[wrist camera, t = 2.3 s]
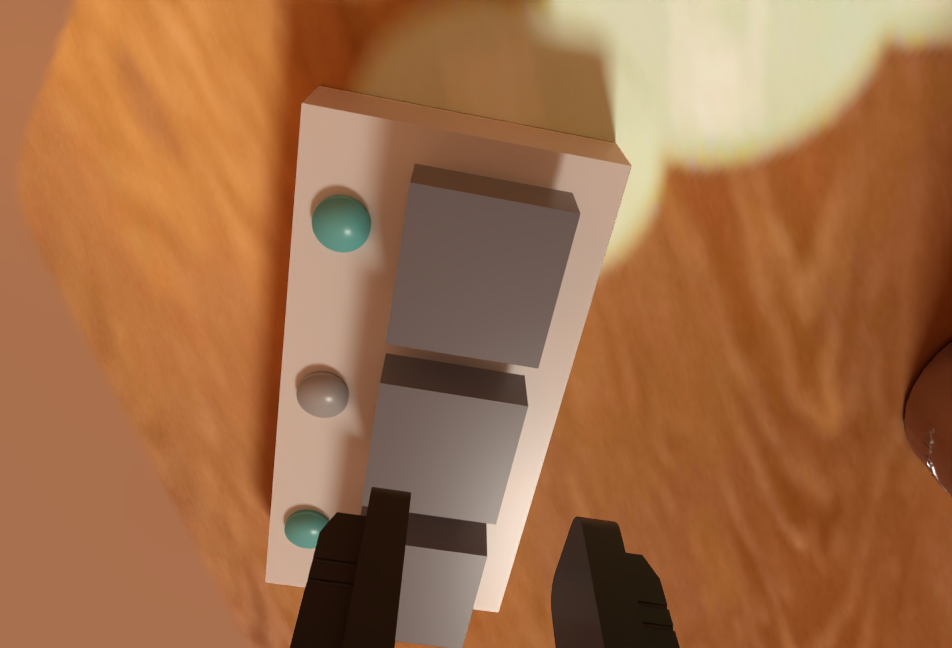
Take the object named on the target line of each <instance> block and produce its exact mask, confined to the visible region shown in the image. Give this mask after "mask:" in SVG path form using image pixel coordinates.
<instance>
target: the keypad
mask: <svg viewBox="0 0 952 648" xmlns="http://www.w3.org/2000/svg"><path fill="white" fill-rule="evenodd" d="M415 164H421V165H426V166H431V167H437V168H442V169H448V170H453V171H458V172H464V173H469V174H474V175H480V176H485V177H490V178H496V179H501V180H507V181H512V182H517V183H523V184H528V185H533V186H539V187H544V188H550V189H555V190H560V191H566V192H571V193H573V195H574V198H575V201H576V203H577V206H578V208H579V211H580V217H579V221H578V225H577V228H576V232H575V236H574V239H573V243H572V247H571V250H570V254H569V258H568V261H567V265H566V269H565V272H564V276H563V280H562V283H561V287H560V291H559V294H558V298H557V302H556V305H555V309H554V313H553V316H552V320H551V324H550V327H549V331H548V335H547V338H546V342H545V346H544V349H543V353H542V357H541V360H540V364H539V368H532V367H525V366H519V365H513V364H507V363H501V362H495V361H488V360H482V359H476V358H470V357H464V356H458V355H451V354H445V353H439V352H433V351H427V350H421V349H414V348H408V347H402V346H396V345H390V344H385V343H386V337H387V330H388V324H389V317H390V311H391V304H392V298H393V291H394V285H395V278H396V271H397V265H398V258H399V252H400V245H401V239H402V232H403V226H404V219H405V212H406V206H407V199H408V193H409V186H410V181H411V177H412V173H413V169H414V165H415ZM630 170H631V164H630V163H629V161H628V160H627V159H626V157H625V156H624V154H623V153H622V151H621V150H620V148H619V147H618V145H617V144H616V143H613V142H608V141H603V140H597V139H592V138H587V137H582V136H577V135H572V134H566V133H561V132H556V131H551V130H546V129H541V128H535V127H530V126H525V125H520V124H515V123H510V122H505V121H499V120H494V119H489V118H484V117H479V116H474V115H468V114H463V113H458V112H453V111H448V110H443V109H437V108H432V107H427V106H422V105H417V104H412V103H407V102H401V101H396V100H391V99H386V98H381V97H376V96H370V95H365V94H360V93H355V92H350V91H345V90H339V89H334V88H329V87H324V86H318V87H317V88H316V89H315V90H314V91H313V92H312V93H311V94H310V95H309V96H308V97H307V98H306V99H305V100H304V101H303V102H302V104H301V117H300V130H299V144H298V157H297V170H296V183H295V197H294V210H293V223H292V236H291V249H290V263H289V276H288V289H287V302H286V315H285V329H284V342H283V355H282V368H281V381H280V395H279V408H278V421H277V434H276V448H275V461H274V474H273V487H272V500H271V514H270V527H269V540H268V553H267V566H266V580H265V582H267V583H275V584H283V585H290V586H298V587H306V583H307V580H308V575H309V571H310V567H311V563H312V561H313V555H314V552H315V548H316V544H317V540H318V536H319V532H320V531H321V530H322V529H323V527H324V526H325V525H326V524H327V523H328V522H329V521H330V519H331V518H332V517H333V516H334V515H335V514H336V513H337V512H340V513H347V514H354V515H361V510H362V506H361V503H362V496H363V490H364V483H365V477H366V470H367V463H368V457H369V450H370V444H371V437H372V431H373V424H374V418H375V411H376V405H377V398H378V392H379V385H380V380H381V375H382V370H383V365H384V360H385V355H386V353H388V354H395V355H401V356H407V357H413V358H419V359H426V360H432V361H438V362H444V363H450V364H457V365H463V366H469V367H475V368H481V369H488V370H494V371H500V372H506V373H513V374H519V375H525V383H526V391H527V400H528V409H527V413H526V417H525V420H524V424H523V427H522V431H521V435H520V438H519V442H518V446H517V449H516V453H515V457H514V460H513V464H512V468H511V471H510V475H509V479H508V482H507V486H506V490H505V493H504V497H503V501H502V504H501V508H500V512H499V515H498V519H497V523H496V525H495V524H488V523H486V525H487V559H486V563H485V566H484V570H483V574H482V577H481V581H480V585H479V588H478V592H477V596H476V599H475V603H474V607H473V609H476V610H483V611H491V612H499V609H500V606H501V602H502V599H503V596H504V592H505V589H506V585H507V582H508V579H509V575H510V572H511V569H512V565H513V562H514V559H515V555H516V552H517V549H518V545H519V542H520V539H521V535H522V532H523V528H524V525H525V522H526V518H527V515H528V512H529V508H530V505H531V502H532V498H533V495H534V492H535V488H536V485H537V482H538V478H539V475H540V471H541V468H542V465H543V461H544V458H545V455H546V451H547V448H548V445H549V441H550V438H551V435H552V431H553V428H554V425H555V421H556V418H557V414H558V411H559V408H560V404H561V401H562V398H563V394H564V391H565V388H566V384H567V381H568V378H569V374H570V371H571V368H572V364H573V361H574V357H575V354H576V351H577V347H578V344H579V341H580V337H581V334H582V331H583V327H584V324H585V321H586V317H587V314H588V311H589V307H590V304H591V300H592V297H593V294H594V290H595V287H596V284H597V280H598V277H599V274H600V270H601V267H602V264H603V260H604V257H605V254H606V250H607V247H608V243H609V240H610V237H611V233H612V230H613V227H614V223H615V220H616V217H617V213H618V210H619V207H620V203H621V200H622V197H623V193H624V190H625V186H626V183H627V180H628V176H629V173H630Z"/></svg>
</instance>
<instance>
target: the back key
mask: <svg viewBox="0 0 952 648" xmlns="http://www.w3.org/2000/svg"><path fill="white" fill-rule="evenodd" d="M367 509H368V507H367V506H362V510H361V515H362V516H366V515H367ZM486 559H487V525H486V523H481V522H474V521H467V520H460V519H453V518H445V517H438V516H431V515H424V514H417V513H410V512H409V518H408V528H407V537H406V546H405V555H404V564H403V573H402V582H401V591H400V601H399V610H398V619H397V628H396V637H395V641H398V642H407V643H415V644H423V645H431V646H439V647H447V648H462V647H463V643H464V640H465V636H466V632H467V629H468V625H469V621H470V618H471V614H472V610H473V607H474V603H475V599H476V596H477V592H478V588H479V585H480V581H481V577H482V574H483V570H484V566H485V563H486Z"/></svg>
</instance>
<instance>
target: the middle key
mask: <svg viewBox="0 0 952 648" xmlns="http://www.w3.org/2000/svg"><path fill="white" fill-rule="evenodd" d="M527 409H528V400H527V391H526V383H525V375H519V374H513V373H506V372H500V371H494V370H488V369H481V368H475V367H469V366H463V365H457V364H450V363H444V362H438V361H432V360H426V359H419V358H413V357H407V356H401V355H395V354H388V353H386V355H385V360H384V365H383V370H382V375H381V380H380V385H379V392H378V398H377V405H376V411H375V418H374V424H373V431H372V437H371V444H370V450H369V457H368V463H367V470H366V477H365V483H364V490H363V496H362V503H361V506H367V507H368V504H369V498H370V493H371V488H372V487H378V488H385V489H392V490H399V491H406V492H411V500H410V509H409V512H410V513H417V514H424V515H431V516H438V517H445V518H453V519H460V520H467V521H474V522H481V523H488V524H495V525H496V523H497V519H498V515H499V512H500V508H501V504H502V501H503V497H504V493H505V490H506V486H507V482H508V479H509V475H510V471H511V468H512V464H513V460H514V457H515V453H516V449H517V446H518V442H519V438H520V435H521V431H522V427H523V424H524V420H525V417H526V413H527Z"/></svg>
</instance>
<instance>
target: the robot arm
mask: <svg viewBox="0 0 952 648" xmlns="http://www.w3.org/2000/svg"><path fill="white" fill-rule="evenodd" d="M904 424H905V430H906V436H907V440H908V441H909V443H910V445H911V447H912V449H913V451H914V453H915V454H916V455H917V456H918V457H919V459H920V460H921V461H922V462H923V463H924V464H925V466H926V467H927V468H928V469H929V470H930V472H931V473H932V476H933V477H934V478H935V479H936V480H937V482H938V483H939V484H940V485H941V486H942V487H943V489H944V490H945V491H947V492H948V493H949V494H950V495H951V496H952V342H951V343H949V344H948V345H947V346H946V347H945V348H943V349H942V350H941V351H940V352H939V353H938V354H937V355H936V356H935V357H934V358H933V359H932V361H931V362H930V363H929V364H928V365H927V366H926V367H925V368H924V370H923V371H922V373H921V375H920V376H919V378H918V379H917V381H916V383H915V384H914V386H913V388H912V390H911V393H910V396H909V399H908V401H907V404H906V411H905V420H904ZM410 500H411V492H406V491H399V490H392V489H385V488H378V487H372V488H371V493H370V498H369V504H368V509H367V515H366V516H362V515H354V514H347V513H340V512H337V513H336V514H335V515H334V516H333V517H332V518H331V519H330V521H329V522H328V523H327V524H326V525H325V526H324V527H323V529H322V530H321V531H320V532H319V536H318V540H317V544H316V548H315V552H314V555H313V561H312V563H311V567H310V571H309V575H308V580H307V583H306V587H305V591H304V595H303V599H302V602H301V606H300V610H299V614H298V618H297V622H296V626H295V630H294V634H293V638H292V642H291V645H290V648H394V646H395V637H396V628H397V619H398V610H399V601H400V591H401V582H402V573H403V564H404V555H405V546H406V537H407V528H408V518H409V509H410ZM551 611H552V620H553V628H554V637H555V646H556V648H680V647H679V644H678V640H677V637H676V633H675V631H673V623H672V620H671V616H670V613H669V610H667V602H666V599H665V595H664V592H663V589H662V585H661V582H660V579H659V577H658V576H657V575H656V573H655V572H654V570H653V569H652V568H651V566H650V565H649V564H648V562H647V561H646V560H645V558H644V557H643V555H638V554H631V553H626V552H625V548H624V544H623V540H622V536H621V532H620V528H619V526H618V524H617V523H616V522H612V521H605V520H598V519H591V518H584V517H575V518H574V520H573V522H572V524H571V527H570V530H569V533H568V536H567V539H566V542H565V545H564V548H563V551H562V554H561V557H560V560H559V563H558V566H557V569H556V572H555V575H554V579H553V584H552V593H551Z"/></svg>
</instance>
